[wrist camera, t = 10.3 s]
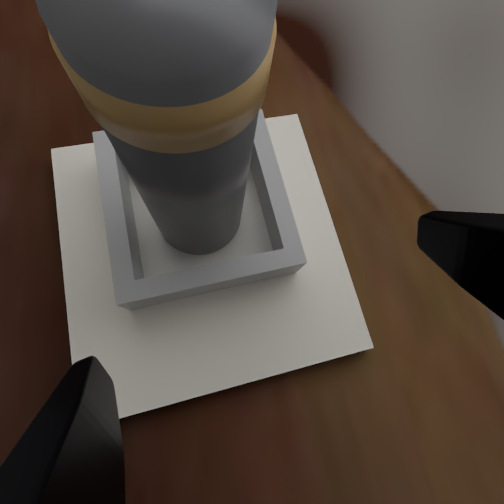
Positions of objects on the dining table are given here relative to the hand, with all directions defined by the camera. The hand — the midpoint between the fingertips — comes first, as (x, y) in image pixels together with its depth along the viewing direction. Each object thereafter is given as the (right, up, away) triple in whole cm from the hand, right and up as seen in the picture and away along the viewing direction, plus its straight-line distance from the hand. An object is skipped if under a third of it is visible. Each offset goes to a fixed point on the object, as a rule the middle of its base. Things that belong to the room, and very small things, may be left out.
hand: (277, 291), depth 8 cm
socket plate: (-3, +1, +12) cm, 12 cm away
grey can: (-4, +3, +11) cm, 12 cm away
